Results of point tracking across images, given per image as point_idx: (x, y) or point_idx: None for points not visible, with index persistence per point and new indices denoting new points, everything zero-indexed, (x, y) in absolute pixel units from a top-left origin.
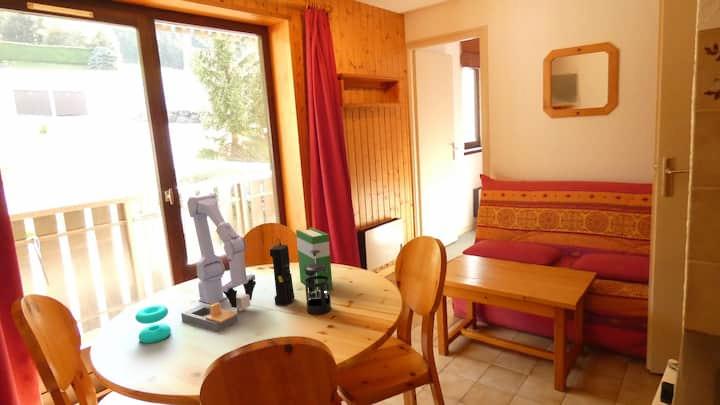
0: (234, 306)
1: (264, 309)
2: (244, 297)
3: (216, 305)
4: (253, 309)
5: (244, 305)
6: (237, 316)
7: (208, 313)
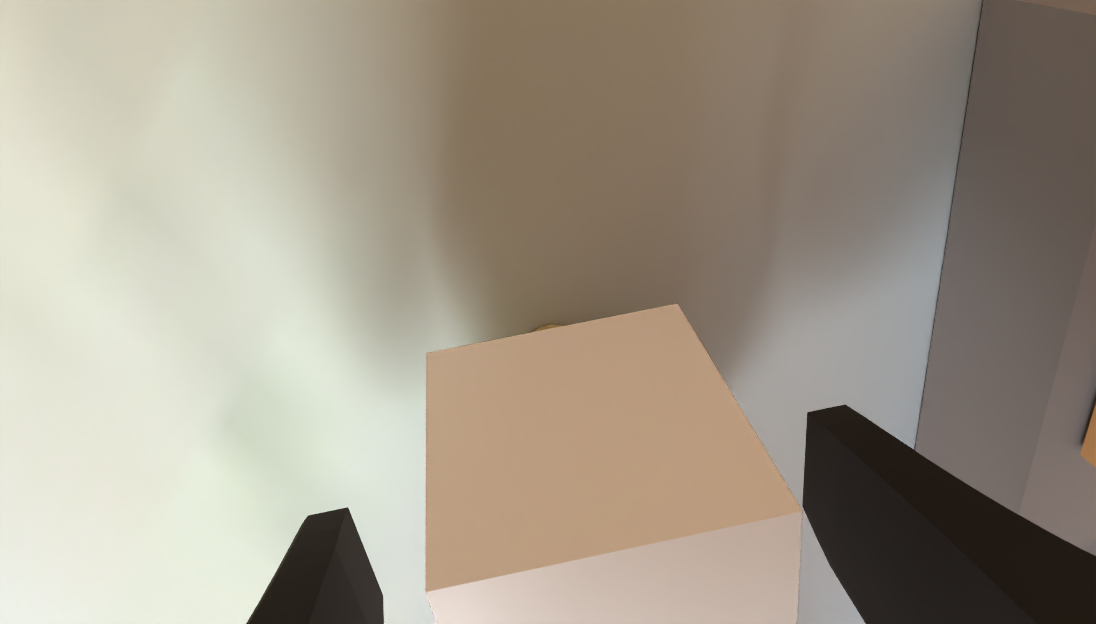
0: (871, 430)
1: (172, 40)
2: (655, 530)
3: None
4: (379, 273)
5: (624, 365)
6: (1078, 9)
7: None
